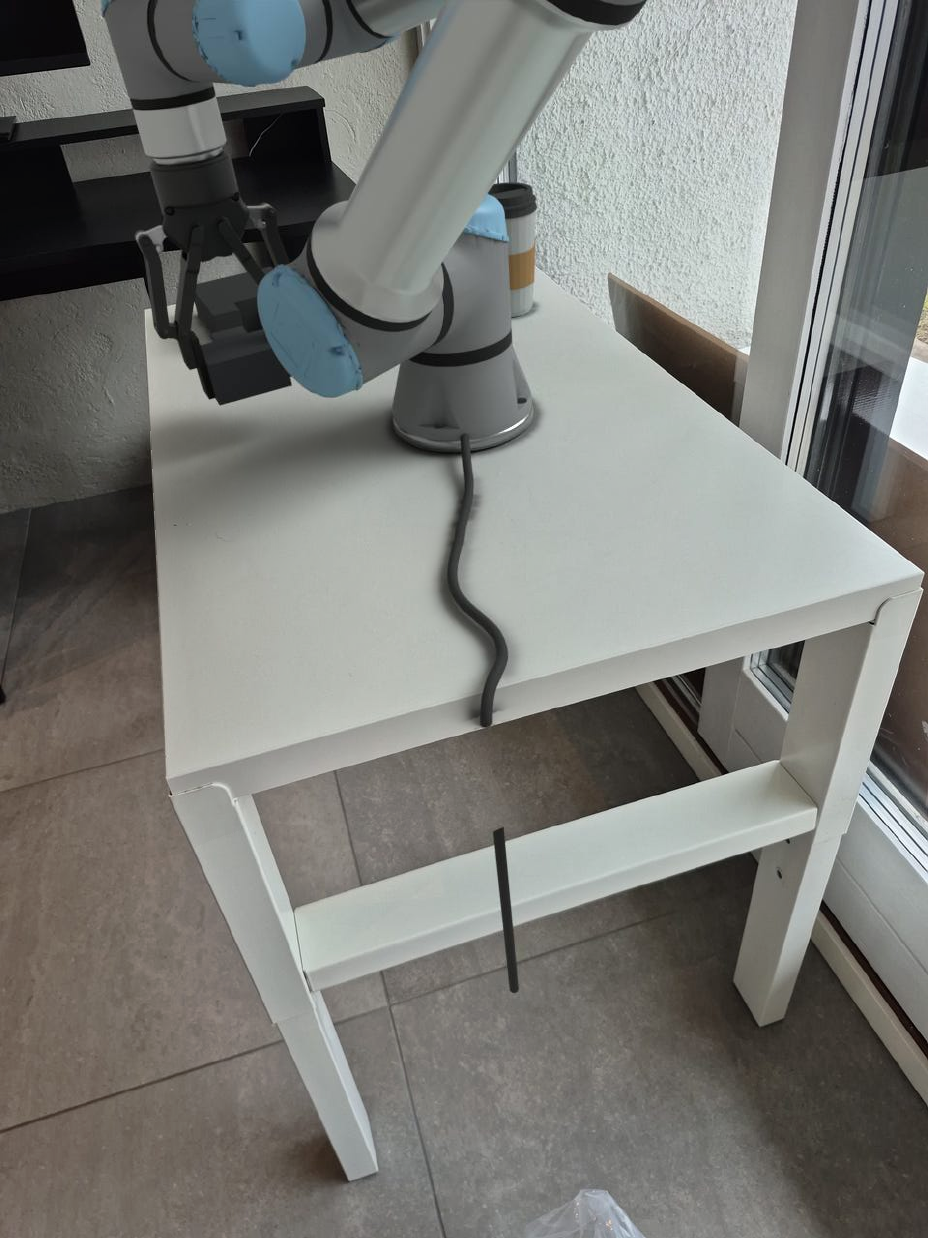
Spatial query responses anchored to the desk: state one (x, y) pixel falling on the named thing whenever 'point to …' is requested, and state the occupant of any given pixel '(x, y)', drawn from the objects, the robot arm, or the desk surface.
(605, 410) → the desk surface
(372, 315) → the robot arm
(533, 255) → the coffee cup
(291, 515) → the desk surface
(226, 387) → the pad
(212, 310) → the notched pad
